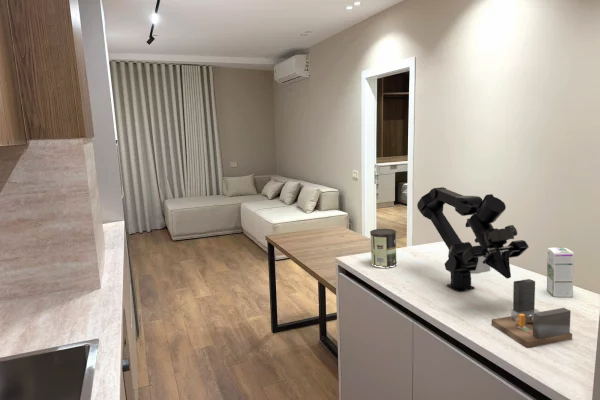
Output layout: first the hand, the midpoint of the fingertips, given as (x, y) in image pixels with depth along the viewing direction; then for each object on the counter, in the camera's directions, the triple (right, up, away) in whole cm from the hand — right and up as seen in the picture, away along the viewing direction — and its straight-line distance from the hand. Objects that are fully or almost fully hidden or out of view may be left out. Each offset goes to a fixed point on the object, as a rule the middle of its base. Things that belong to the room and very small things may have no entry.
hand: (509, 277), depth 117 cm
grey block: (+7, -4, +43) cm, 44 cm away
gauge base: (+1, -13, -8) cm, 15 cm away
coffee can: (-25, -5, +53) cm, 59 cm away
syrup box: (+23, -8, +14) cm, 28 cm away
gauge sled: (+2, -10, -6) cm, 12 cm away
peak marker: (-1, -11, -9) cm, 14 cm away
